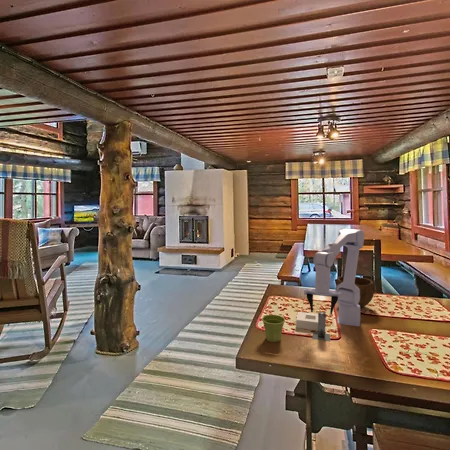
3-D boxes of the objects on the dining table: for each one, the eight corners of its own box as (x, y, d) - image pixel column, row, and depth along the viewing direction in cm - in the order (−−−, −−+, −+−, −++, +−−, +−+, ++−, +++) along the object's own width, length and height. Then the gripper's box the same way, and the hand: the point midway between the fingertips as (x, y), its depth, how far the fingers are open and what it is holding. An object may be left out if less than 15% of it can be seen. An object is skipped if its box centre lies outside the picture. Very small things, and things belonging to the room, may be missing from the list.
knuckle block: (324, 323, 142) (324, 314, 142) (324, 331, 133) (324, 323, 132) (297, 319, 146) (298, 311, 146) (296, 328, 136) (296, 319, 136)
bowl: (375, 304, 166) (376, 277, 165) (370, 315, 150) (371, 286, 149) (339, 298, 176) (340, 273, 175) (331, 308, 161) (332, 281, 159)
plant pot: (279, 346, 120) (280, 325, 119) (258, 340, 125) (258, 320, 124) (288, 337, 128) (288, 317, 127) (267, 332, 133) (267, 313, 132)
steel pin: (325, 335, 129) (325, 312, 128) (325, 338, 126) (325, 315, 125) (317, 334, 130) (318, 311, 129) (317, 337, 127) (318, 314, 126)
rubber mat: (330, 334, 130) (330, 334, 130) (330, 342, 123) (330, 341, 123) (313, 332, 132) (313, 331, 132) (312, 339, 126) (312, 338, 126)
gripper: (303, 281, 125) (302, 313, 126) (341, 285, 120) (340, 318, 121) (305, 277, 131) (304, 308, 132) (341, 280, 127) (339, 312, 128)
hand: (321, 312), depth 127 cm, fingers open, 7 cm apart
